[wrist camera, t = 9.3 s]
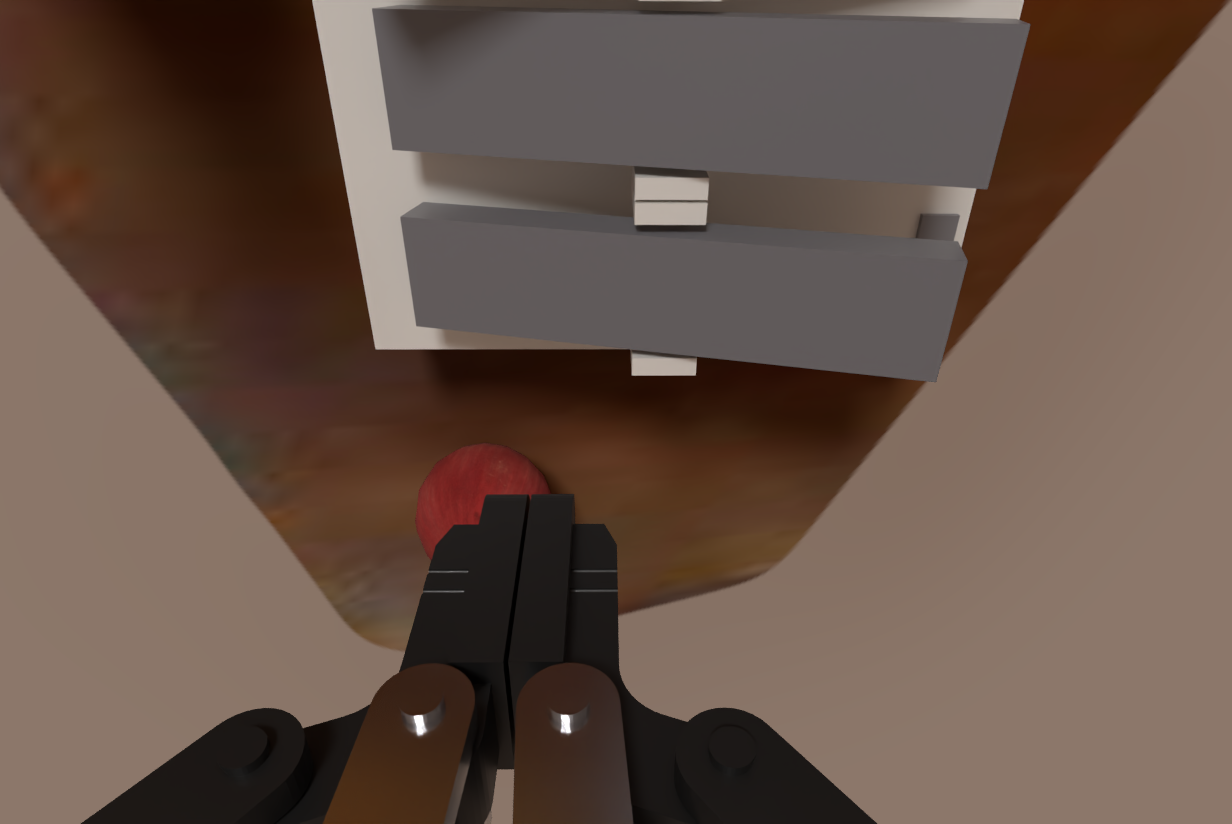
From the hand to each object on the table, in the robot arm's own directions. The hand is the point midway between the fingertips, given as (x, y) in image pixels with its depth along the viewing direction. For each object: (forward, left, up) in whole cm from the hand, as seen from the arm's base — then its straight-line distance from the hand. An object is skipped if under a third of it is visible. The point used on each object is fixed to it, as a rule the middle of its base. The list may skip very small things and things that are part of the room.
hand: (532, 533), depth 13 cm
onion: (+12, -4, -19) cm, 23 cm away
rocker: (-6, +3, -11) cm, 13 cm away
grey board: (0, +3, -11) cm, 12 cm away
